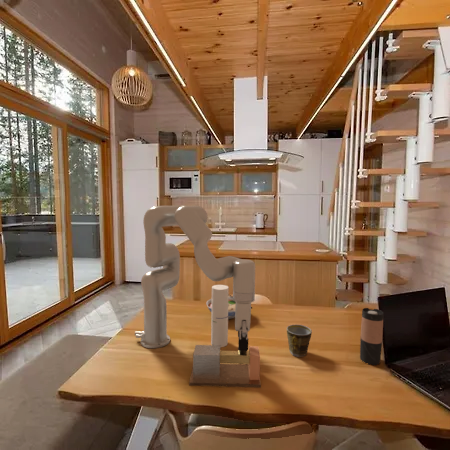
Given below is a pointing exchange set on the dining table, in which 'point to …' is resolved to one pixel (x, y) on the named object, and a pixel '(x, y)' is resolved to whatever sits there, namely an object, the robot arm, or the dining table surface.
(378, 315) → the travel mug
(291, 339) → the ceramic cup
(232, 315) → the ramen bowl
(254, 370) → the socket
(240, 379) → the brown wooden base board
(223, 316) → the cylindrical container
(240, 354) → the sliding bolt with handle
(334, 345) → the dining table surface
